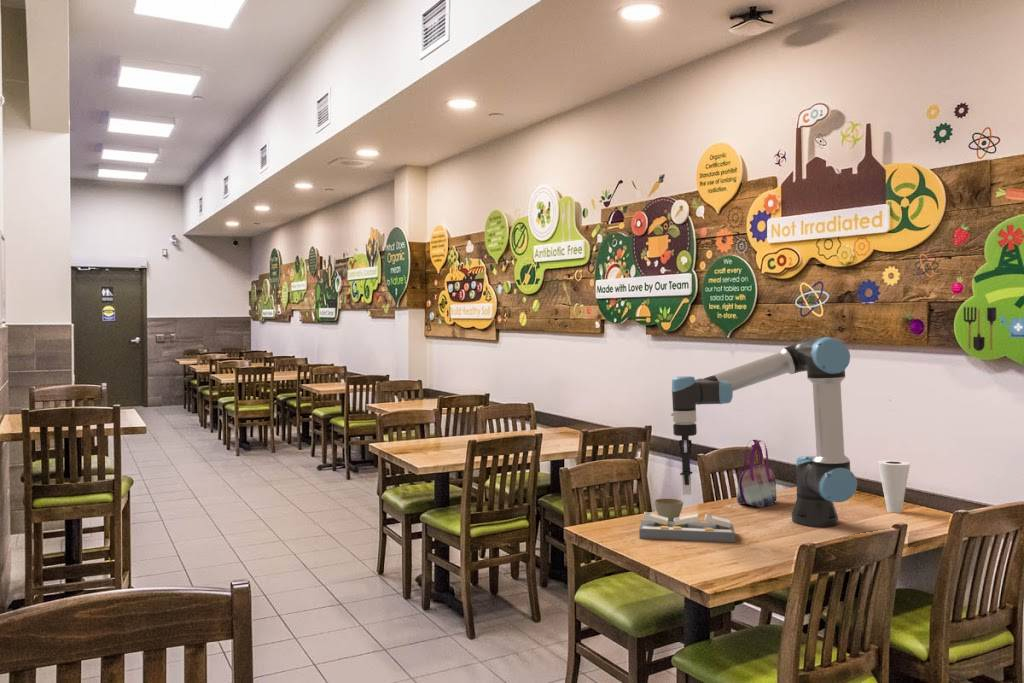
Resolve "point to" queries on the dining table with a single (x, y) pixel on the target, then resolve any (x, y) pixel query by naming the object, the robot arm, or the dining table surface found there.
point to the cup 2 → (894, 483)
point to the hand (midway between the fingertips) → (687, 494)
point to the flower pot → (668, 508)
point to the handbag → (757, 481)
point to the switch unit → (686, 531)
